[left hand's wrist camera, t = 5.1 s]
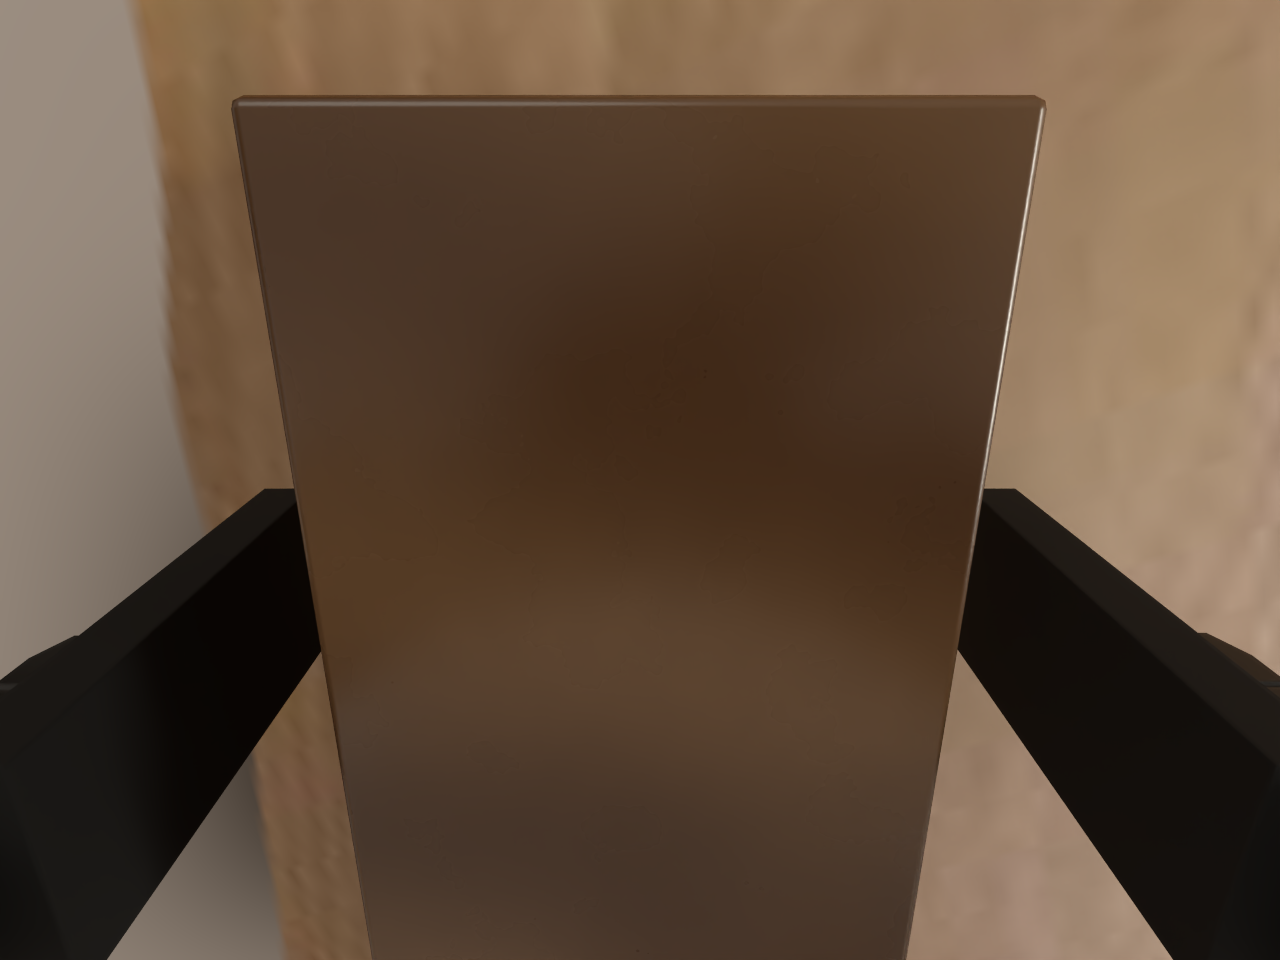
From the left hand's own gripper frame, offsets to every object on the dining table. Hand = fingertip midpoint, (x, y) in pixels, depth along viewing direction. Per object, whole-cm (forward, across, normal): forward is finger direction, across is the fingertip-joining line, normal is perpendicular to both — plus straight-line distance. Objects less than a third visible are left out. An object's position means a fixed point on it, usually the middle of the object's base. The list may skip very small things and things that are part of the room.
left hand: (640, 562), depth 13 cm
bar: (+2, 0, -21) cm, 21 cm away
